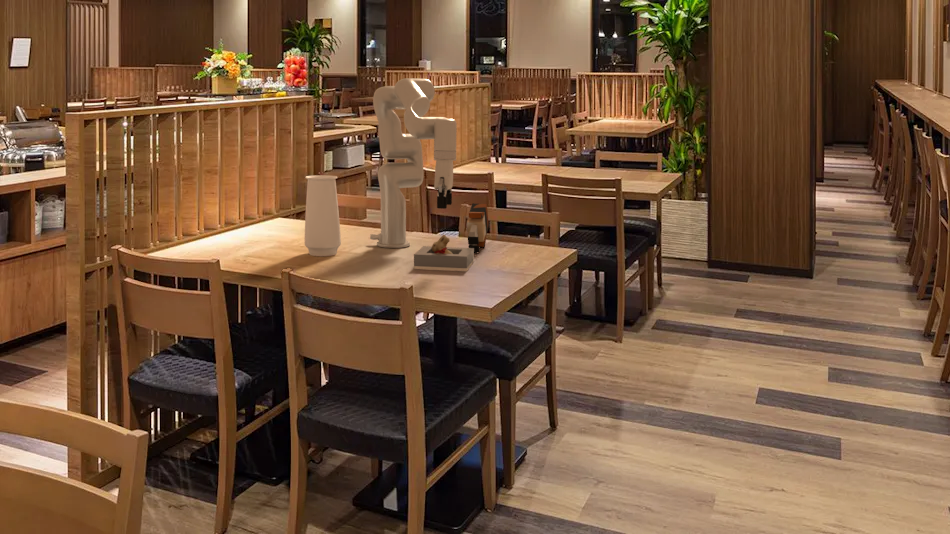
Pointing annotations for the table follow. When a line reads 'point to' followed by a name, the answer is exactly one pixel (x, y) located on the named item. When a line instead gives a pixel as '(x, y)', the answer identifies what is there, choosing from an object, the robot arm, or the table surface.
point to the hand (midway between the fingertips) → (444, 206)
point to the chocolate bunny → (441, 246)
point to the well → (444, 259)
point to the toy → (477, 226)
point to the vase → (322, 216)
